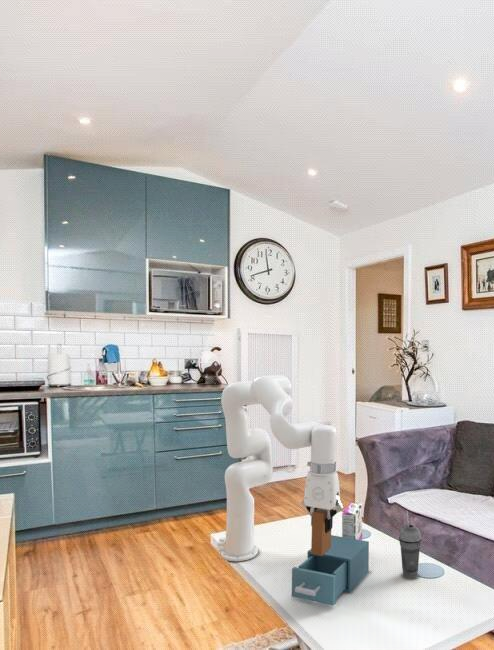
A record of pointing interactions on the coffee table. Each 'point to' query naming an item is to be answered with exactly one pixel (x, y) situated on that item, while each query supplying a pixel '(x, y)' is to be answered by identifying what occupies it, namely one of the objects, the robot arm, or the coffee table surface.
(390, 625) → the coffee table surface
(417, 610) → the coffee table surface
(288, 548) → the coffee table surface
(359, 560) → the cabinet
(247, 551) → the robot arm
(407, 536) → the beverage cup
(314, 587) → the drawer
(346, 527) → the candy bar box
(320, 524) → the brown rectangular box
